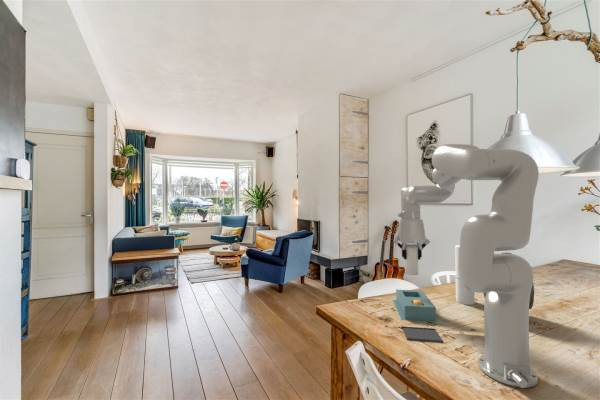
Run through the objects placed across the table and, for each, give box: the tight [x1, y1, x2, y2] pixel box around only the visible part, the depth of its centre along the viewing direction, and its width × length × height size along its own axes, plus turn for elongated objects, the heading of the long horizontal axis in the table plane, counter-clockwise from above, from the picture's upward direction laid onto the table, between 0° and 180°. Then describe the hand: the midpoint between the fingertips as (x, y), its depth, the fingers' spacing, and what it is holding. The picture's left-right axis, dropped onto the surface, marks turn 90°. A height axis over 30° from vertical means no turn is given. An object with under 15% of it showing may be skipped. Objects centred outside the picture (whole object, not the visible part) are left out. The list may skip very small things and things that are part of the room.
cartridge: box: [404, 243, 419, 276], centre depth 115 cm, size 5×5×12 cm
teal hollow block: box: [392, 288, 441, 323], centre depth 111 cm, size 21×14×6 cm, turn 170°
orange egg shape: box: [413, 300, 422, 305], centre depth 105 cm, size 3×3×4 cm
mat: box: [401, 326, 444, 343], centre depth 94 cm, size 11×11×1 cm
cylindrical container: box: [454, 244, 475, 306], centre depth 122 cm, size 7×7×25 cm
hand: (411, 258), depth 115 cm, fingers closed on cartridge, 5 cm apart
